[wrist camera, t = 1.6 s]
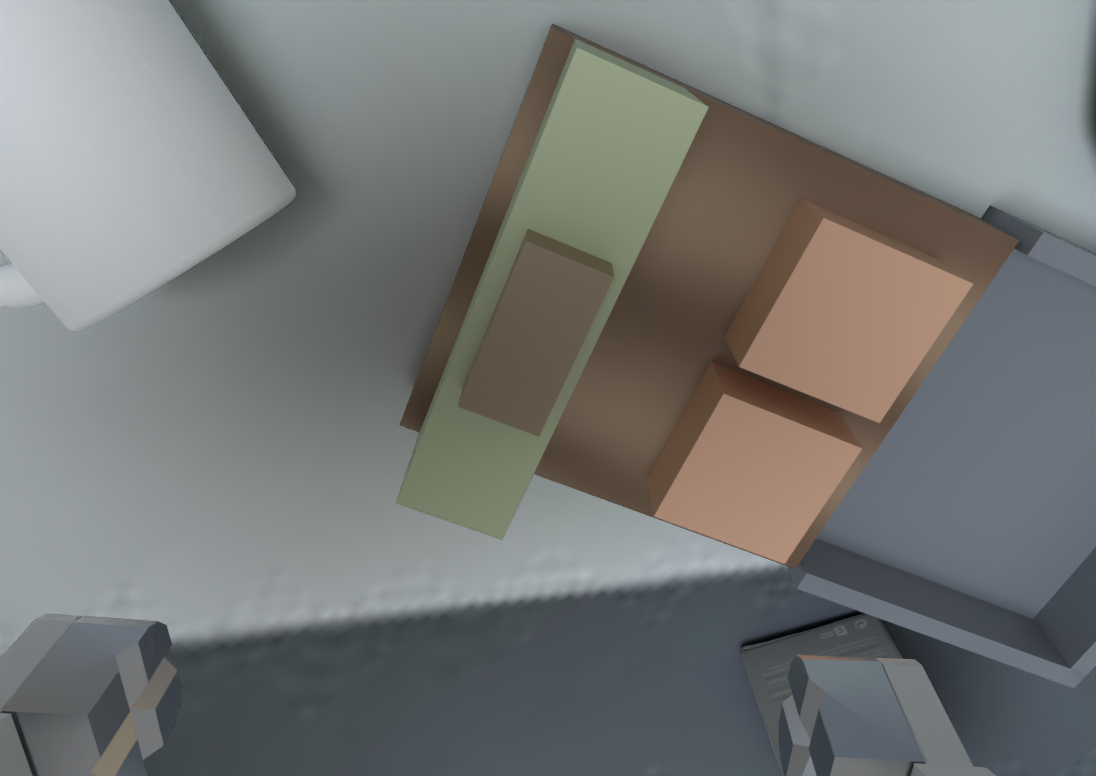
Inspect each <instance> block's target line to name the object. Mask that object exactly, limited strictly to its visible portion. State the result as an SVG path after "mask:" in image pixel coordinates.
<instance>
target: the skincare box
mask: <svg viewBox="0 0 1096 776" xmlns="http://www.w3.org/2000/svg"><path fill="white" fill-rule="evenodd" d="M795 655H815V656H838V657H860V658H872V659H874V658H893V659H903V657H902V656H901V654H900V652H899V650H898V649H897V647H896V645H895V643H894V642H893V640H892V638H891V636H890V635H889V633H888V631H887V629H886V628H885V626H884V624H883V622H882V621H881V619H879V618H877V617H874V616H871V615H868V614H866V613H864V614H860V615H856V616H853V617H849V618H846V619H842V620H839V621H836V622H833V623H830V624H827V625H823V626H820V627H817V628H814V629H810V630H807V631H803V632H800V633H796V634H792V635H788V636H784V637H781V638H777V639H773V640H770V641H766V642H762V643H757V644H753V645H748V646H744V647H743V648H742V649H741V656H742V659H743V662H744V665H745V668H746V671H747V674H748V677H749V680H750V683H751V686H752V689H753V692H754V695H755V698H756V700H757V703H758V706H759V709H760V712H761V715H762V718H763V721H764V724H765V727H766V729H767V732H768V735H769V738H770V741H771V744H772V747H773V750H774V753H775V756H776V758H777V761H778V764H779V767H780V770H781V773H782V776H784V773H783V769H782V764H781V759H780V751H779V718H780V713H781V707H782V703H783V702H784V701H785V700H787V699H788V698H789V697H790V696H791V695H793V694H792V690H791V687H790V683H789V680H788V674H789V670H790V666H791V662H792V660H793V659H794V657H795Z"/></svg>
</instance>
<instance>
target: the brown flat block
mask: <svg viewBox="0 0 1096 776" xmlns="http://www.w3.org/2000/svg"><path fill="white" fill-rule="evenodd" d="M575 39H578V40H580V41H582V42H584V43H586V44H589V45H591V46H593V47H595V48H597V49H600V50H602V51H604V52H606V53H608V54H611V55H613V56H615V57H617V58H619V59H622V60H624V61H626V62H628V63H630V64H633V65H635V66H637V67H639V68H641V69H644V70H646V71H648V72H650V73H652V74H655V75H657V76H659V77H661V78H663V79H666V80H668V81H670V82H672V83H675V84H677V85H679V86H681V87H683V88H685V89H686V90H688V91H689V92H690V93H692V94H693V95H694V96H695V97H697V98H698V99H699V100H701V101H702V102H703V103H704V104H706V105H707V106H708V107H709V108H708V110H707V112H706V114H705V116H704V118H703V120H702V122H701V124H700V126H699V129H698V131H697V133H696V135H695V137H694V139H693V141H692V143H691V145H690V147H689V150H688V152H687V154H686V156H685V158H684V160H683V162H682V164H681V166H680V168H679V170H678V173H677V175H676V177H675V179H674V181H673V183H672V185H671V187H670V189H669V191H668V194H667V196H666V198H665V200H664V202H663V204H662V206H661V208H660V210H659V212H658V214H657V217H656V219H655V221H654V223H653V225H652V227H651V229H650V231H649V233H648V235H647V238H646V240H645V242H644V244H643V246H642V248H641V250H640V252H639V254H638V256H637V258H636V261H635V263H634V265H633V267H632V269H631V271H630V273H629V275H628V277H627V279H626V282H625V284H624V286H623V288H622V290H621V292H620V294H619V296H618V298H617V300H616V302H615V305H614V307H613V309H612V311H611V313H610V315H609V317H608V319H607V321H606V323H605V326H604V328H603V330H602V332H601V334H600V336H599V338H598V340H597V342H596V344H595V346H594V349H593V351H592V353H591V355H590V357H589V359H588V361H587V363H586V365H585V367H584V370H583V372H582V374H581V376H580V378H579V380H578V382H577V384H576V386H575V388H574V390H573V393H572V395H571V397H570V399H569V401H568V403H567V405H566V407H565V409H564V411H563V414H562V416H561V418H560V420H559V422H558V424H557V426H556V428H555V430H554V432H553V434H552V437H551V439H550V441H549V443H548V445H547V447H546V449H545V451H544V453H543V455H542V457H541V460H540V462H539V464H538V466H537V468H536V470H535V472H534V474H536V475H538V476H541V477H544V478H547V479H549V480H552V481H555V482H558V483H560V484H563V485H566V486H569V487H571V488H574V489H577V490H579V491H582V492H585V493H588V494H590V495H593V496H596V497H599V498H601V499H604V500H607V501H610V502H612V503H615V504H618V505H621V506H623V507H626V508H629V509H632V510H634V511H637V512H640V513H643V514H645V515H648V516H651V517H654V515H653V509H652V503H651V497H650V491H649V485H648V479H647V476H648V475H649V473H650V471H651V469H652V467H653V466H654V464H655V462H656V460H657V458H658V456H659V455H660V453H661V451H662V449H663V447H664V446H665V444H666V442H667V440H668V438H669V437H670V435H671V433H672V431H673V429H674V427H675V426H676V424H677V422H678V420H679V418H680V417H681V415H682V413H683V411H684V409H685V407H686V406H687V404H688V402H689V400H690V398H691V397H692V395H693V393H694V391H695V389H696V387H697V386H698V384H699V382H700V380H701V378H702V377H703V375H704V373H705V371H706V369H707V367H708V366H709V364H710V362H714V363H716V364H719V365H721V366H724V367H726V368H729V369H731V370H734V371H736V372H739V373H741V374H744V375H746V376H749V377H751V378H754V379H756V380H759V381H761V382H764V383H766V384H769V385H771V386H774V387H776V388H779V389H781V390H784V391H786V392H789V393H791V394H794V395H796V396H799V397H801V398H804V399H806V400H809V401H811V402H814V403H816V404H819V405H821V406H824V407H826V408H829V409H831V410H834V411H836V412H839V413H840V415H841V416H842V418H843V419H844V421H845V423H846V424H847V426H848V427H849V429H850V430H851V432H852V433H853V435H854V436H855V438H856V439H857V441H858V442H859V444H860V445H861V447H862V450H861V452H860V453H859V455H858V456H857V457H856V459H855V460H854V462H853V463H852V465H851V466H850V468H849V469H848V471H847V472H846V474H845V475H844V477H843V478H842V480H841V481H840V483H839V484H838V486H837V487H836V489H835V490H834V492H833V493H832V495H831V496H830V498H829V499H828V500H827V502H826V503H825V505H824V506H823V508H822V509H821V511H820V512H819V514H818V515H817V517H816V518H815V520H814V521H813V523H812V524H811V526H810V527H809V529H808V530H807V532H806V533H805V535H804V536H803V538H802V539H801V541H800V542H799V543H798V545H797V546H796V548H795V549H794V551H793V552H792V554H791V555H790V557H789V558H788V560H787V561H786V563H785V564H783V563H780V562H777V561H775V560H772V559H769V558H766V557H764V556H761V555H758V554H755V553H753V552H750V551H747V550H744V549H742V548H739V547H736V546H733V545H731V544H728V543H725V542H722V541H720V540H717V539H714V538H711V537H709V536H706V535H703V534H700V533H698V532H695V531H692V530H689V529H687V528H684V527H681V526H679V525H676V524H673V523H670V522H668V521H665V520H662V519H659V518H657V517H654V518H656V519H659V520H662V521H665V522H667V523H670V524H673V525H676V526H678V527H681V528H684V529H687V530H689V531H692V532H695V533H698V534H700V535H703V536H706V537H709V538H711V539H714V540H717V541H720V542H722V543H725V544H728V545H731V546H733V547H736V548H739V549H742V550H744V551H747V552H750V553H753V554H755V555H758V556H761V557H764V558H766V559H769V560H772V561H775V562H777V563H780V564H783V565H786V566H788V567H791V568H794V569H796V567H797V566H798V564H799V563H800V561H801V560H802V558H803V557H804V555H805V554H806V552H807V551H808V550H809V548H810V547H811V545H812V544H813V542H814V541H815V539H816V538H817V536H818V535H819V533H820V532H821V530H822V529H823V528H824V526H825V525H826V523H827V522H828V520H829V519H830V517H831V516H832V514H833V513H834V511H835V510H836V509H837V507H838V506H839V504H840V503H841V501H842V500H843V498H844V497H845V495H846V494H847V492H848V491H849V490H850V488H851V487H852V485H853V484H854V482H855V481H856V479H857V478H858V476H859V475H860V473H861V472H862V471H863V469H864V468H865V466H866V465H867V463H868V462H869V460H870V459H871V457H872V456H873V454H874V453H875V451H876V450H877V449H878V447H879V446H880V444H881V443H882V441H883V440H884V438H885V437H886V435H887V434H888V432H889V431H890V430H891V428H892V427H893V425H894V424H895V422H896V421H897V419H898V418H899V416H900V415H901V413H902V412H903V411H904V409H905V408H906V406H907V405H908V403H909V402H910V400H911V399H912V397H913V396H914V394H915V393H916V392H917V390H918V389H919V387H920V386H921V384H922V383H923V381H924V380H925V378H926V377H927V375H928V374H929V372H930V371H931V370H932V368H933V367H934V365H935V364H936V362H937V361H938V359H939V358H940V356H941V355H942V353H943V352H944V351H945V349H946V348H947V346H948V345H949V343H950V342H951V340H952V339H953V337H954V336H955V334H956V333H957V332H958V330H959V329H960V327H961V326H962V324H963V323H964V321H965V320H966V318H967V317H968V315H969V314H970V313H971V311H972V310H973V308H974V307H975V305H976V304H977V302H978V301H979V299H980V298H981V296H982V295H983V294H984V292H985V291H986V289H987V288H988V286H989V285H990V283H991V282H992V280H993V279H994V277H995V276H996V274H997V273H998V272H999V270H1000V269H1001V267H1002V266H1003V264H1004V263H1005V261H1006V260H1007V258H1008V257H1009V255H1010V254H1011V253H1012V251H1013V250H1014V248H1015V247H1016V245H1017V244H1018V242H1019V241H1020V240H1019V239H1017V238H1015V237H1013V236H1011V235H1009V234H1008V233H1006V232H1004V231H1002V230H1000V229H998V228H996V227H995V226H993V225H991V224H989V223H987V222H985V221H983V220H982V219H980V218H978V217H976V216H974V215H972V214H969V213H967V212H965V211H963V210H961V209H958V208H956V207H954V206H952V205H950V204H947V203H945V202H943V201H941V200H939V199H936V198H934V197H932V196H930V195H928V194H925V193H923V192H921V191H919V190H917V189H914V188H912V187H910V186H908V185H906V184H903V183H901V182H899V181H897V180H895V179H892V178H890V177H888V176H886V175H883V174H881V173H879V172H877V171H875V170H872V169H870V168H868V167H866V166H864V165H861V164H859V163H857V162H855V161H853V160H850V159H848V158H846V157H844V156H842V155H839V154H837V153H835V152H833V151H831V150H828V149H826V148H824V147H822V146H820V145H817V144H815V143H813V142H811V141H809V140H806V139H804V138H802V137H800V136H798V135H795V134H793V133H791V132H789V131H787V130H784V129H782V128H780V127H778V126H776V125H773V124H771V123H769V122H767V121H765V120H762V119H760V118H758V117H756V116H754V115H751V114H749V113H747V112H745V111H743V110H740V109H738V108H736V107H734V106H732V105H729V104H727V103H725V102H723V101H721V100H718V99H716V98H714V97H712V96H710V95H707V94H705V93H703V92H701V91H699V90H696V89H694V88H692V87H690V86H688V85H685V84H683V83H681V82H679V81H677V80H674V79H672V78H670V77H668V76H666V75H663V74H661V73H659V72H657V71H655V70H652V69H650V68H648V67H646V66H644V65H641V64H639V63H637V62H635V61H633V60H630V59H628V58H626V57H624V56H622V55H619V54H617V53H615V52H613V51H611V50H608V49H606V48H604V47H602V46H600V45H597V44H595V43H593V42H591V41H589V40H586V39H584V38H582V37H580V36H578V35H575V34H573V33H571V32H569V31H567V30H564V29H562V28H560V27H558V26H556V25H553V24H552V26H551V28H550V31H549V34H548V36H547V39H546V42H545V44H544V47H543V49H542V52H541V55H540V57H539V60H538V63H537V65H536V68H535V70H534V73H533V76H532V78H531V81H530V84H529V86H528V89H527V91H526V94H525V97H524V99H523V102H522V105H521V107H520V110H519V113H518V115H517V118H516V120H515V123H514V126H513V128H512V131H511V134H510V136H509V139H508V141H507V144H506V147H505V149H504V152H503V155H502V157H501V160H500V162H499V165H498V168H497V170H496V173H495V176H494V178H493V181H492V183H491V186H490V189H489V191H488V194H487V197H486V199H485V202H484V204H483V207H482V210H481V212H480V215H479V218H478V220H477V223H476V225H475V228H474V231H473V233H472V236H471V239H470V241H469V244H468V246H467V249H466V252H465V254H464V257H463V260H462V262H461V265H460V267H459V270H458V273H457V275H456V278H455V281H454V283H453V286H452V288H451V291H450V294H449V296H448V299H447V302H446V304H445V307H444V309H443V312H442V315H441V317H440V320H439V323H438V325H437V328H436V330H435V333H434V336H433V338H432V341H431V344H430V346H429V349H428V351H427V354H426V357H425V359H424V362H423V365H422V367H421V370H420V372H419V375H418V378H417V380H416V383H415V386H414V388H413V391H412V393H411V396H410V399H409V401H408V404H407V407H406V409H405V412H404V415H403V417H402V420H401V422H400V425H401V426H404V427H406V428H409V429H412V430H415V431H417V432H420V430H421V427H422V425H423V422H424V420H425V417H426V415H427V412H428V409H429V407H430V404H431V402H432V399H433V397H434V394H435V392H436V389H437V387H438V384H439V382H440V379H441V377H442V374H443V371H444V369H445V366H446V364H447V361H448V359H449V356H450V354H451V351H452V349H453V346H454V344H455V341H456V339H457V336H458V333H459V331H460V328H461V326H462V323H463V321H464V318H465V316H466V313H467V311H468V308H469V306H470V303H471V301H472V298H473V296H474V293H475V290H476V288H477V285H478V283H479V280H480V278H481V275H482V273H483V270H484V268H485V265H486V263H487V260H488V258H489V255H490V252H491V250H492V247H493V245H494V242H495V240H496V237H497V235H498V232H499V230H500V227H501V225H502V222H503V220H504V217H505V214H506V212H507V209H508V207H509V204H510V202H511V199H512V197H513V194H514V192H515V189H516V187H517V184H518V182H519V179H520V176H521V174H522V171H523V169H524V166H525V164H526V161H527V159H528V156H529V154H530V151H531V149H532V146H533V144H534V141H535V138H536V136H537V133H538V131H539V128H540V126H541V123H542V121H543V118H544V116H545V113H546V111H547V108H548V106H549V103H550V100H551V98H552V95H553V93H554V90H555V88H556V85H557V83H558V80H559V78H560V75H561V73H562V70H563V68H564V65H565V62H566V60H567V57H568V55H569V52H570V50H571V47H572V45H573V42H574V40H575ZM800 198H802V199H804V200H806V201H808V202H811V203H813V204H815V205H818V206H820V207H822V208H824V209H827V210H829V211H831V212H833V213H836V214H838V215H840V216H842V217H845V218H847V219H849V220H852V221H854V222H856V223H858V224H861V225H863V226H865V227H867V228H870V229H872V230H874V231H876V232H879V233H881V234H883V235H885V236H888V237H890V238H892V239H895V240H897V241H899V242H901V243H904V244H906V245H908V246H910V247H913V248H915V249H917V250H919V251H922V252H924V253H926V254H929V255H931V256H933V257H935V258H938V259H939V260H941V261H942V262H944V263H945V264H946V265H948V266H949V267H951V268H952V269H953V270H955V271H956V272H958V273H959V274H960V275H962V276H963V277H965V278H966V279H968V280H969V281H970V282H972V283H973V285H972V287H971V288H970V290H969V291H968V293H967V294H966V296H965V297H964V299H963V300H962V302H961V303H960V305H959V306H958V308H957V309H956V311H955V312H954V314H953V315H952V317H951V318H950V320H949V321H948V323H947V324H946V325H945V327H944V328H943V330H942V331H941V333H940V334H939V336H938V337H937V339H936V340H935V342H934V343H933V345H932V346H931V348H930V349H929V351H928V352H927V354H926V355H925V357H924V358H923V360H922V361H921V363H920V364H919V366H918V367H917V368H916V370H915V371H914V373H913V374H912V376H911V377H910V379H909V380H908V382H907V383H906V385H905V386H904V388H903V389H902V391H901V392H900V394H899V395H898V397H897V398H896V400H895V401H894V403H893V404H892V406H891V407H890V409H889V410H888V411H887V413H886V414H885V416H884V417H883V419H882V420H881V422H880V423H878V422H875V421H873V420H870V419H868V418H865V417H863V416H860V415H858V414H855V413H853V412H850V411H848V410H845V409H843V408H840V407H838V406H835V405H833V404H830V403H828V402H825V401H823V400H820V399H818V398H815V397H813V396H810V395H808V394H805V393H803V392H800V391H798V390H795V389H793V388H791V387H788V386H786V385H783V384H781V383H778V382H776V381H773V380H771V379H768V378H766V377H763V376H761V375H758V374H756V373H753V372H751V371H748V370H746V369H743V368H741V367H739V366H738V364H737V362H736V359H735V357H734V355H733V353H732V351H731V349H730V347H729V344H728V342H727V340H726V338H725V335H726V333H727V331H728V329H729V327H730V326H731V324H732V322H733V320H734V318H735V317H736V315H737V313H738V311H739V309H740V307H741V306H742V304H743V302H744V300H745V298H746V297H747V295H748V293H749V291H750V289H751V287H752V286H753V284H754V282H755V280H756V278H757V277H758V275H759V273H760V271H761V269H762V267H763V266H764V264H765V262H766V260H767V258H768V257H769V255H770V253H771V251H772V249H773V247H774V246H775V244H776V242H777V240H778V238H779V237H780V235H781V233H782V231H783V229H784V227H785V226H786V224H787V222H788V220H789V218H790V217H791V215H792V213H793V211H794V209H795V207H796V206H797V204H798V202H799V200H800Z"/></svg>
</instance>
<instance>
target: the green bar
mask: <svg viewBox="0 0 1096 776" xmlns="http://www.w3.org/2000/svg"><path fill="white" fill-rule="evenodd" d="M708 108H709V107H708V106H707V105H706V104H704V103H703V102H702V101H701V100H699V99H698V98H697V97H695V96H694V95H693V94H692V93H690V92H689V91H688V90H686V89H685V88H683V87H681V86H679V85H677V84H675V83H672V82H670V81H668V80H666V79H663V78H661V77H659V76H657V75H655V74H652V73H650V72H648V71H646V70H644V69H641V68H639V67H637V66H635V65H633V64H630V63H628V62H626V61H624V60H622V59H619V58H617V57H615V56H613V55H611V54H608V53H606V52H604V51H602V50H600V49H597V48H595V47H593V46H591V45H589V44H586V43H584V42H582V41H580V40H578V39H575V40H574V42H573V45H572V47H571V50H570V52H569V55H568V57H567V60H566V62H565V65H564V68H563V70H562V73H561V75H560V78H559V80H558V83H557V85H556V88H555V90H554V93H553V95H552V98H551V100H550V103H549V106H548V108H547V111H546V113H545V116H544V118H543V121H542V123H541V126H540V128H539V131H538V133H537V136H536V138H535V141H534V144H533V146H532V149H531V151H530V154H529V156H528V159H527V161H526V164H525V166H524V169H523V171H522V174H521V176H520V179H519V182H518V184H517V187H516V189H515V192H514V194H513V197H512V199H511V202H510V204H509V207H508V209H507V212H506V214H505V217H504V220H503V222H502V225H501V227H500V230H499V232H498V235H497V237H496V240H495V242H494V245H493V247H492V250H491V252H490V255H489V258H488V260H487V263H486V265H485V268H484V270H483V273H482V275H481V278H480V280H479V283H478V285H477V288H476V290H475V293H474V296H473V298H472V301H471V303H470V306H469V308H468V311H467V313H466V316H465V318H464V321H463V323H462V326H461V328H460V331H459V333H458V336H457V339H456V341H455V344H454V346H453V349H452V351H451V354H450V356H449V359H448V361H447V364H446V366H445V369H444V371H443V374H442V377H441V379H440V382H439V384H438V387H437V389H436V392H435V394H434V397H433V399H432V402H431V404H430V407H429V409H428V412H427V415H426V417H425V420H424V422H423V425H422V427H421V430H420V432H419V435H418V438H417V441H416V444H415V447H414V450H413V453H412V456H411V459H410V462H409V465H408V468H407V471H406V474H405V477H404V480H403V483H402V486H401V489H400V492H399V495H398V498H397V501H396V503H398V504H401V505H403V506H406V507H409V508H412V509H415V510H418V511H421V512H424V513H426V514H429V515H432V516H435V517H438V518H441V519H444V520H446V521H449V522H452V523H455V524H458V525H461V526H464V527H467V528H469V529H472V530H475V531H478V532H481V533H484V534H487V535H490V536H492V537H495V538H498V539H501V540H502V539H503V537H504V535H505V533H506V531H507V529H508V527H509V525H510V522H511V520H512V518H513V516H514V514H515V512H516V510H517V508H518V506H519V504H520V501H521V499H522V497H523V495H524V493H525V491H526V489H527V487H528V485H529V483H530V481H531V478H532V476H533V474H534V472H535V470H536V468H537V466H538V464H539V462H540V460H541V457H542V455H543V453H544V451H545V449H546V447H547V445H548V443H549V441H550V439H551V437H552V434H553V432H554V430H555V428H556V426H557V424H558V422H559V420H560V418H561V416H562V414H563V411H564V409H565V407H566V405H567V403H568V401H569V399H570V397H571V395H572V393H573V390H574V388H575V386H576V384H577V382H578V380H579V378H580V376H581V374H582V372H583V370H584V367H585V365H586V363H587V361H588V359H589V357H590V355H591V353H592V351H593V349H594V346H595V344H596V342H597V340H598V338H599V336H600V334H601V332H602V330H603V328H604V326H605V323H606V321H607V319H608V317H609V315H610V313H611V311H612V309H613V307H614V305H615V302H616V300H617V298H618V296H619V294H620V292H621V290H622V288H623V286H624V284H625V282H626V279H627V277H628V275H629V273H630V271H631V269H632V267H633V265H634V263H635V261H636V258H637V256H638V254H639V252H640V250H641V248H642V246H643V244H644V242H645V240H646V238H647V235H648V233H649V231H650V229H651V227H652V225H653V223H654V221H655V219H656V217H657V214H658V212H659V210H660V208H661V206H662V204H663V202H664V200H665V198H666V196H667V194H668V191H669V189H670V187H671V185H672V183H673V181H674V179H675V177H676V175H677V173H678V170H679V168H680V166H681V164H682V162H683V160H684V158H685V156H686V154H687V152H688V150H689V147H690V145H691V143H692V141H693V139H694V137H695V135H696V133H697V131H698V129H699V126H700V124H701V122H702V120H703V118H704V116H705V114H706V112H707V110H708Z"/></svg>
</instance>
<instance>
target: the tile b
mask: <svg viewBox="0 0 1096 776" xmlns="http://www.w3.org/2000/svg"><path fill="white" fill-rule="evenodd" d="M972 285H973V283H972V282H970V281H969V280H968V279H966V278H965V277H963V276H962V275H960V274H959V273H958V272H956V271H955V270H953V269H952V268H951V267H949V266H948V265H946V264H945V263H944V262H942V261H941V260H939V259H938V258H935V257H933V256H931V255H929V254H926V253H924V252H922V251H919V250H917V249H915V248H913V247H910V246H908V245H906V244H904V243H901V242H899V241H897V240H895V239H892V238H890V237H888V236H885V235H883V234H881V233H879V232H876V231H874V230H872V229H870V228H867V227H865V226H863V225H861V224H858V223H856V222H854V221H852V220H849V219H847V218H845V217H842V216H840V215H838V214H836V213H833V212H831V211H829V210H827V209H824V208H822V207H820V206H818V205H815V204H813V203H811V202H808V201H806V200H804V199H802V198H800V200H799V202H798V204H797V206H796V207H795V209H794V211H793V213H792V215H791V217H790V218H789V220H788V222H787V224H786V226H785V227H784V229H783V231H782V233H781V235H780V237H779V238H778V240H777V242H776V244H775V246H774V247H773V249H772V251H771V253H770V255H769V257H768V258H767V260H766V262H765V264H764V266H763V267H762V269H761V271H760V273H759V275H758V277H757V278H756V280H755V282H754V284H753V286H752V287H751V289H750V291H749V293H748V295H747V297H746V298H745V300H744V302H743V304H742V306H741V307H740V309H739V311H738V313H737V315H736V317H735V318H734V320H733V322H732V324H731V326H730V327H729V329H728V331H727V333H726V335H725V338H726V340H727V342H728V344H729V347H730V349H731V351H732V353H733V355H734V357H735V359H736V362H737V364H738V366H739V367H741V368H743V369H746V370H748V371H751V372H753V373H756V374H758V375H761V376H763V377H766V378H768V379H771V380H773V381H776V382H778V383H781V384H783V385H786V386H788V387H791V388H793V389H795V390H798V391H800V392H803V393H805V394H808V395H810V396H813V397H815V398H818V399H820V400H823V401H825V402H828V403H830V404H833V405H835V406H838V407H840V408H843V409H845V410H848V411H850V412H853V413H855V414H858V415H860V416H863V417H865V418H868V419H870V420H873V421H875V422H878V423H880V422H881V420H882V419H883V417H884V416H885V414H886V413H887V411H888V410H889V409H890V407H891V406H892V404H893V403H894V401H895V400H896V398H897V397H898V395H899V394H900V392H901V391H902V389H903V388H904V386H905V385H906V383H907V382H908V380H909V379H910V377H911V376H912V374H913V373H914V371H915V370H916V368H917V367H918V366H919V364H920V363H921V361H922V360H923V358H924V357H925V355H926V354H927V352H928V351H929V349H930V348H931V346H932V345H933V343H934V342H935V340H936V339H937V337H938V336H939V334H940V333H941V331H942V330H943V328H944V327H945V325H946V324H947V323H948V321H949V320H950V318H951V317H952V315H953V314H954V312H955V311H956V309H957V308H958V306H959V305H960V303H961V302H962V300H963V299H964V297H965V296H966V294H967V293H968V291H969V290H970V288H971V287H972Z"/></svg>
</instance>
